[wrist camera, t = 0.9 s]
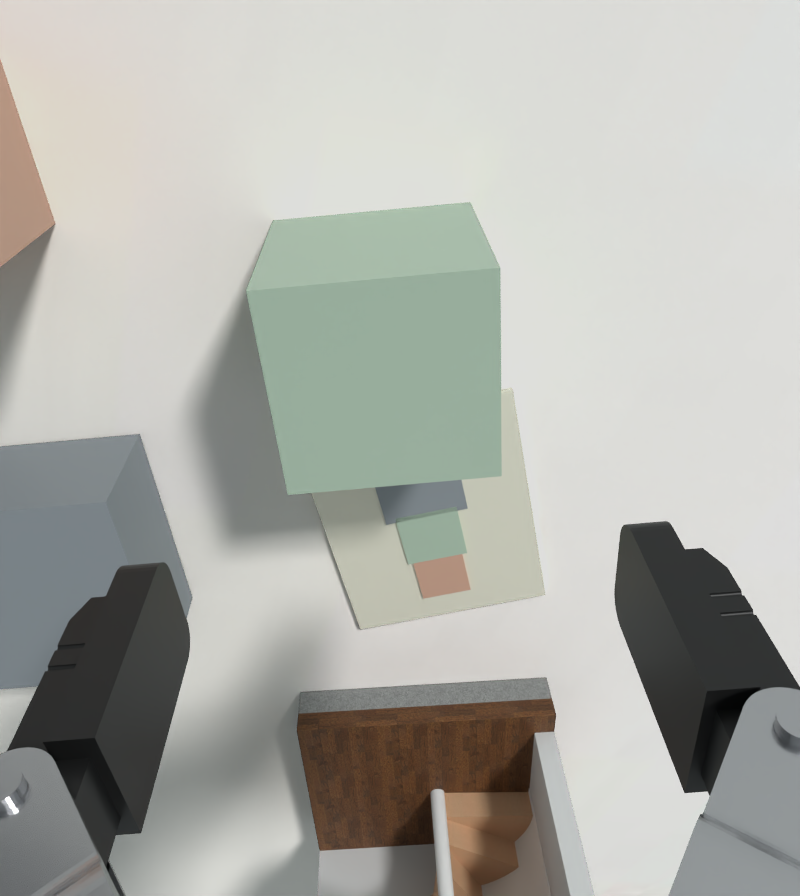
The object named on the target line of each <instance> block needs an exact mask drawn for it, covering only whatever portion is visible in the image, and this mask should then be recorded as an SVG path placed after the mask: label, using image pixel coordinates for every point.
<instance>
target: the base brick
mask: <svg viewBox="0 0 800 896" xmlns="http://www.w3.org/2000/svg"><path fill="white" fill-rule="evenodd" d="M159 562H165V563H166V564H167V565H168V567H169V569H170V571H171V574H172V577H173V580H174V583H175V586H176V589H177V592H178V595H179V598H180V601H181V604H182V607H183V610H184V613H185V616H186V618H187V615H188V611H189V608H190V604H191V601H192V595H191V592H190V589H189V585H188V582H187V579H186V576H185V573H184V570H183V567H182V564H181V561H180V558H179V554H178V551H177V548H176V545H175V542H174V539H173V536H172V533H171V530H170V527H169V524H168V520H167V517H166V514H165V511H164V508H163V505H162V502H161V499H160V496H159V493H158V490H157V486H156V483H155V480H154V477H153V474H152V471H151V468H150V465H149V462H148V459H147V455H146V452H145V449H144V446H143V443H142V440H141V437H140V434H136V435H125V436H114V437H103V438H92V439H81V440H69V441H58V442H47V443H36V444H25V445H13V446H2V447H0V689H9V688H21V687H33V686H38V685H39V683H40V681H41V679H42V677H43V675H44V672H45V671H48V664H49V662H50V660H51V658H52V656H53V653H54V651H55V650H57V649H58V646H57V645H58V643H59V641H60V639H61V637H62V634H63V632H64V630H65V628H66V626H67V624H68V622H69V620H70V619H71V618H72V617H73V616H74V615H75V614H76V613H77V612H78V611H79V610H80V609H81V608H82V607H83V606H84V605H85V604H86V603H87V602H88V600H89V599H90V598H92V597H104V596H106V594H107V592H108V590H109V587H110V585H111V583H112V581H113V578H114V576H115V574H116V572H117V570H118V569H119V567H121V566H123V565H135V564H147V563H159Z"/></svg>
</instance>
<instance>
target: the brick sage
mask: <svg viewBox="0 0 800 896" xmlns="http://www.w3.org/2000/svg"><path fill="white" fill-rule="evenodd" d="M246 293H247V298H248V303H249V308H250V313H251V318H252V322H253V327H254V332H255V337H256V342H257V347H258V352H259V357H260V362H261V366H262V371H263V376H264V381H265V386H266V391H267V396H268V401H269V406H270V410H271V415H272V420H273V425H274V430H275V435H276V440H277V445H278V450H279V454H280V459H281V464H282V469H283V474H284V479H285V484H286V489H287V494H288V495H295V494H306V493H317V492H329V491H340V490H351V489H363V488H374V487H385V486H396V485H408V484H419V483H430V482H442V481H453V480H464V479H476V478H487V477H498V476H502V453H501V311H500V266H499V264H498V262H497V260H496V257H495V255H494V253H493V251H492V249H491V246H490V244H489V242H488V240H487V238H486V235H485V233H484V231H483V229H482V227H481V225H480V222H479V220H478V218H477V216H476V214H475V211H474V209H473V207H472V205H471V203H470V202H467V203H456V204H445V205H434V206H423V207H413V208H402V209H391V210H380V211H370V212H359V213H348V214H337V215H327V216H316V217H305V218H294V219H283V220H273V222H272V225H271V227H270V230H269V232H268V235H267V238H266V240H265V243H264V245H263V248H262V251H261V253H260V256H259V258H258V261H257V264H256V266H255V269H254V272H253V274H252V277H251V279H250V282H249V285H248V287H247V290H246Z"/></svg>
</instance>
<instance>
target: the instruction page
mask: <svg viewBox="0 0 800 896" xmlns="http://www.w3.org/2000/svg"><path fill="white" fill-rule="evenodd" d="M501 453H502V476H498V477H487V478H476V479H464V480H453V481H442V482H430V483H419V484H408V485H396V486H385V487H374V488H363V489H351V490H340V491H329V492H317V493H311V494H312V497H313V500H314V502H315V505H316V508H317V511H318V513H319V516H320V519H321V522H322V524H323V527H324V530H325V533H326V535H327V538H328V541H329V544H330V547H331V549H332V552H333V555H334V558H335V560H336V563H337V566H338V569H339V571H340V574H341V577H342V580H343V582H344V585H345V588H346V591H347V593H348V596H349V599H350V602H351V604H352V607H353V610H354V613H355V616H356V618H357V621H358V624H359V627H360V629H361V630H362V629H367V628H372V627H378V626H383V625H388V624H394V623H399V622H404V621H410V620H415V619H420V618H426V617H431V616H436V615H442V614H447V613H452V612H457V611H463V610H468V609H473V608H479V607H484V606H489V605H495V604H500V603H505V602H511V601H516V600H521V599H527V598H532V597H537V596H543V595H545V590H544V584H543V577H542V571H541V565H540V558H539V552H538V546H537V540H536V533H535V527H534V521H533V514H532V508H531V502H530V496H529V489H528V483H527V477H526V470H525V464H524V458H523V452H522V445H521V439H520V433H519V426H518V420H517V414H516V408H515V401H514V395H513V390H512V388H511V389H506V390H501Z"/></svg>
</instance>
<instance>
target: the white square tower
mask: <svg viewBox="0 0 800 896" xmlns="http://www.w3.org/2000/svg"><path fill="white" fill-rule="evenodd" d="M555 719H556V713H555V709H554V705H553V701H552V698H551V694H550V690H549V686H548V682H547V678H531V679H515V680H498V681H481V682H465V683H448V684H431V685H415V686H398V687H381V688H365V689H348V690H331V691H315V692H300V702H299V713H298V724H297V734H298V739H299V745H300V750H301V755H302V760H303V766H304V771H305V776H306V781H307V787H308V792H309V797H310V802H311V807H312V813H313V818H314V823H315V828H316V834H317V839H318V844H319V849H320V856H319V874H318V893H317V896H595V895H594V891H593V887H592V883H591V879H590V875H589V871H588V867H587V862H586V858H585V854H584V850H583V846H582V842H581V838H580V834H579V830H578V826H577V822H576V818H575V814H574V810H573V806H572V802H571V798H570V794H569V790H568V786H567V782H566V778H565V774H564V770H563V766H562V762H561V757H560V753H559V749H558V745H557V741H556V737H555V733H554V728H555Z"/></svg>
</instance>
